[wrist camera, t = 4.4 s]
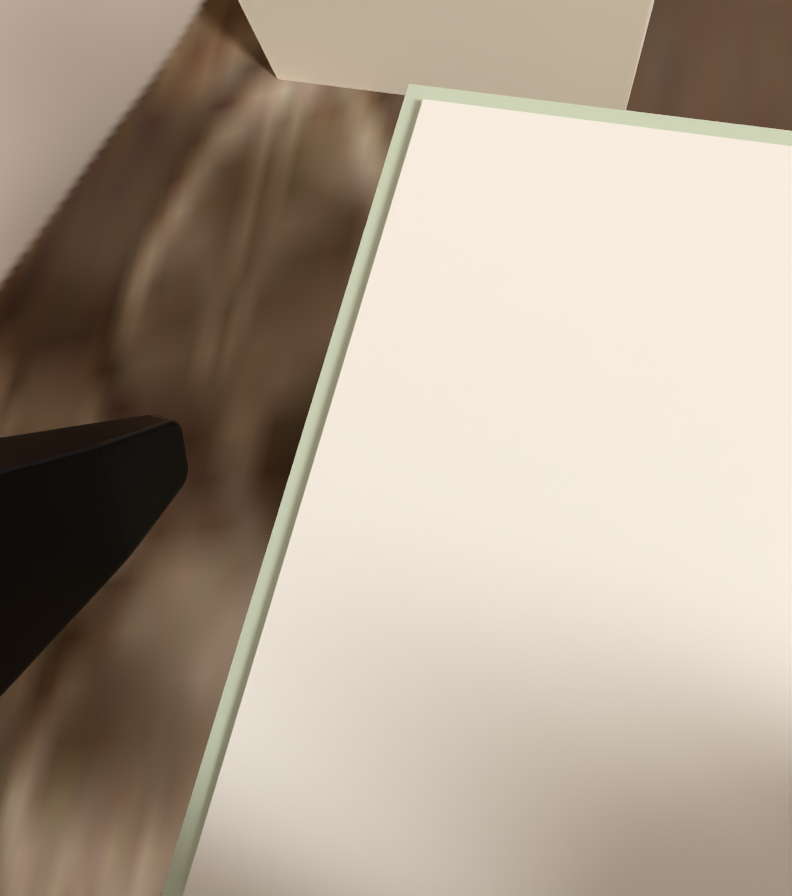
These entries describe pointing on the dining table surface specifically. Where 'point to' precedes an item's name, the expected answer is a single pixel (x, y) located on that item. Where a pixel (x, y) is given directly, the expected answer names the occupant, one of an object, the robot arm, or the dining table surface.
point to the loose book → (530, 532)
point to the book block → (459, 45)
